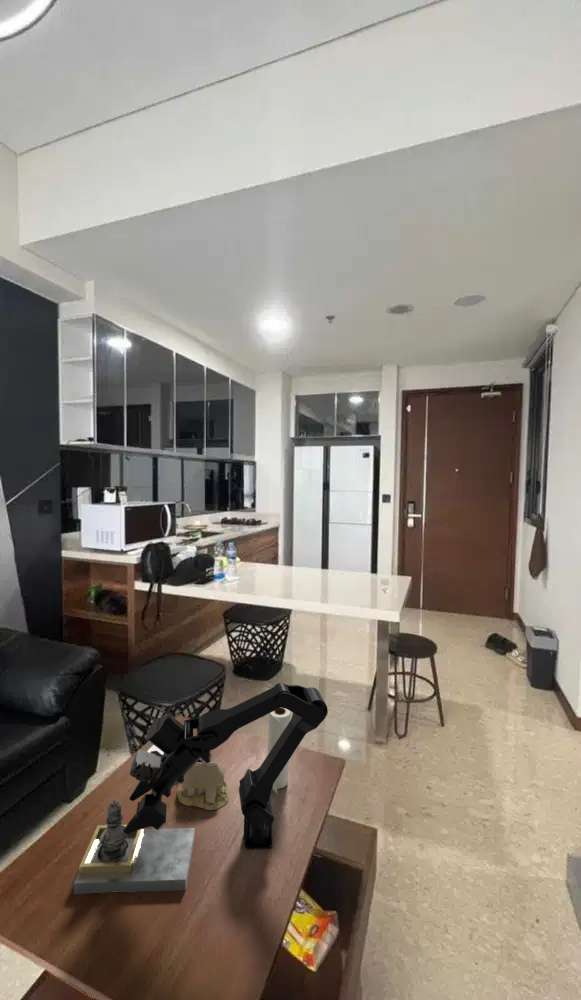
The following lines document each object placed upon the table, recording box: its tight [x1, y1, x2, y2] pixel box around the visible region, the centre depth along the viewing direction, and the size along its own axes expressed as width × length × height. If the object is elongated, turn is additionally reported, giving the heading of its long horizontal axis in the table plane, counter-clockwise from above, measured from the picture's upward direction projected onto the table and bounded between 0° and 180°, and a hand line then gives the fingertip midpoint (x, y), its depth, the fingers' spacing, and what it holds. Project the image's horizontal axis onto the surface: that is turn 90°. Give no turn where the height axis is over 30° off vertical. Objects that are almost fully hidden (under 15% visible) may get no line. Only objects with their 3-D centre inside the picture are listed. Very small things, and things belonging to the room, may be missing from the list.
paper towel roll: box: [267, 707, 292, 795], centre depth 122 cm, size 7×6×21 cm
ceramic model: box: [176, 760, 230, 811], centre depth 117 cm, size 14×11×10 cm
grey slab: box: [73, 824, 196, 895], centre depth 96 cm, size 23×13×4 cm, turn 94°
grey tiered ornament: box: [100, 799, 128, 861], centre depth 97 cm, size 6×6×12 cm
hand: (128, 815), depth 97 cm, fingers open, 9 cm apart
